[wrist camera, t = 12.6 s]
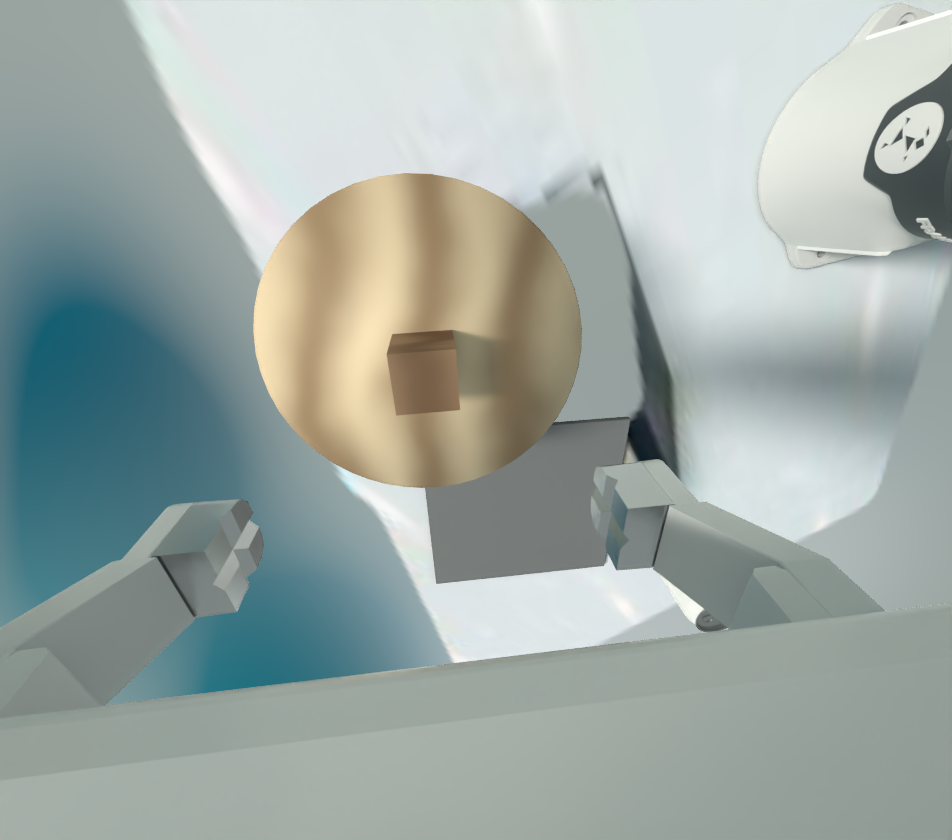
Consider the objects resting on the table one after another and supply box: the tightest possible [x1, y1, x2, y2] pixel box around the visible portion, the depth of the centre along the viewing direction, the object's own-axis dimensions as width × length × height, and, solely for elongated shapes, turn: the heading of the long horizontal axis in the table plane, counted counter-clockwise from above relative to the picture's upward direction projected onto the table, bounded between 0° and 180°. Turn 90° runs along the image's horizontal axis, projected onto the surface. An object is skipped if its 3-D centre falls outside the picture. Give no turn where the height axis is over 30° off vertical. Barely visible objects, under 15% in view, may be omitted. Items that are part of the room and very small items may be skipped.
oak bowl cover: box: [254, 173, 582, 488], centre depth 26 cm, size 22×22×5 cm
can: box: [660, 575, 728, 632], centre depth 52 cm, size 6×6×12 cm
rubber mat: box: [425, 417, 630, 584], centre depth 51 cm, size 24×24×1 cm
